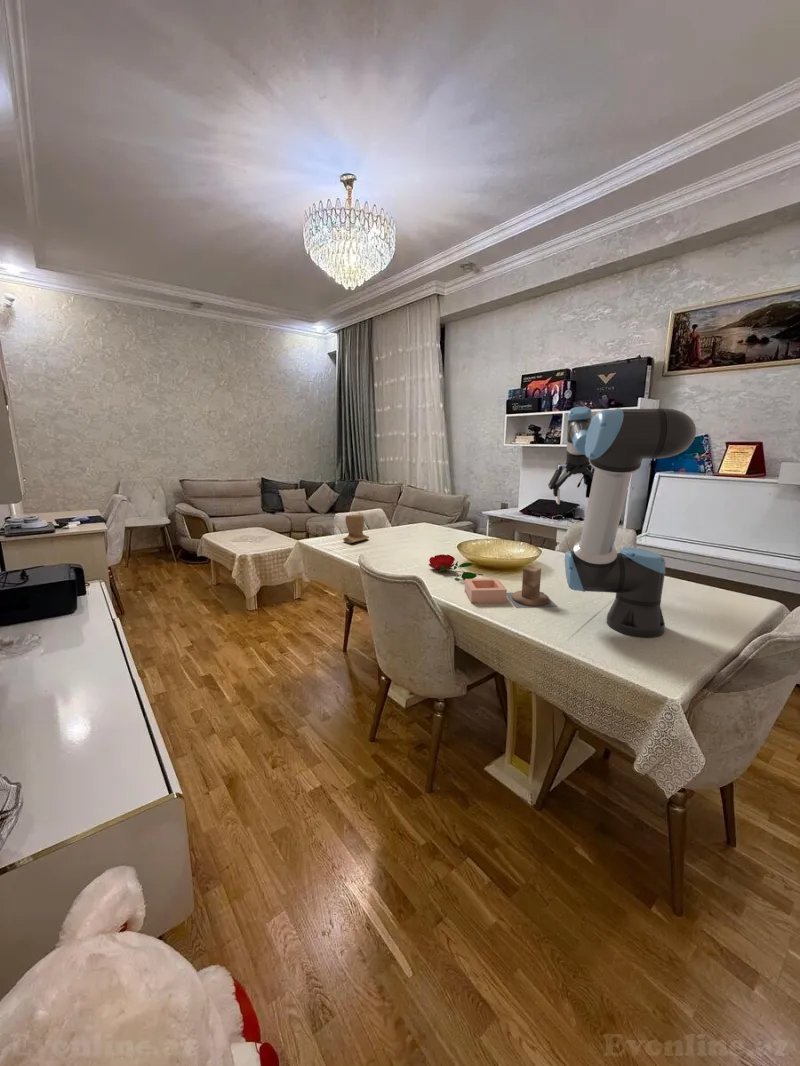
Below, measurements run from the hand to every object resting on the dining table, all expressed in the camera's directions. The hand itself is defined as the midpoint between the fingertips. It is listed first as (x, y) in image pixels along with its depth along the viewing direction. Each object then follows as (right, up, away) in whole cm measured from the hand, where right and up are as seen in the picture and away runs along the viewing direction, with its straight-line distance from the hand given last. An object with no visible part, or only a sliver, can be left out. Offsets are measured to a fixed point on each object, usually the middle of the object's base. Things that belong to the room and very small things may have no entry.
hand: (575, 499), depth 167 cm
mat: (-23, -37, -18) cm, 47 cm away
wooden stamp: (-93, -18, +69) cm, 117 cm away
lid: (-23, -36, -18) cm, 47 cm away
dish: (-38, -36, -15) cm, 55 cm away
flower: (-45, -31, +8) cm, 56 cm away
